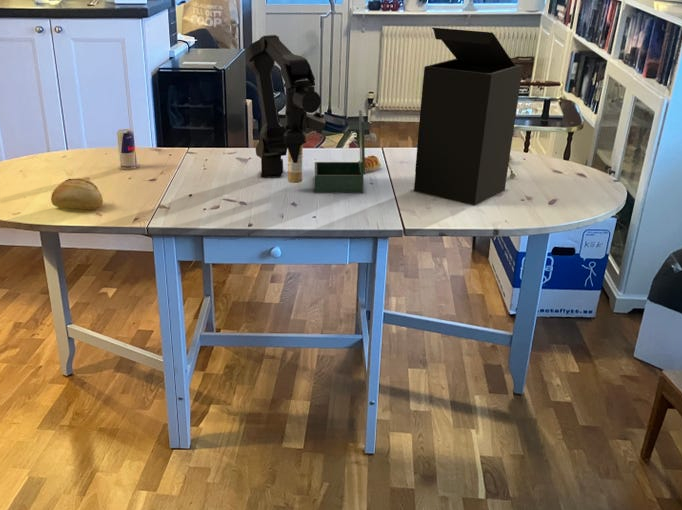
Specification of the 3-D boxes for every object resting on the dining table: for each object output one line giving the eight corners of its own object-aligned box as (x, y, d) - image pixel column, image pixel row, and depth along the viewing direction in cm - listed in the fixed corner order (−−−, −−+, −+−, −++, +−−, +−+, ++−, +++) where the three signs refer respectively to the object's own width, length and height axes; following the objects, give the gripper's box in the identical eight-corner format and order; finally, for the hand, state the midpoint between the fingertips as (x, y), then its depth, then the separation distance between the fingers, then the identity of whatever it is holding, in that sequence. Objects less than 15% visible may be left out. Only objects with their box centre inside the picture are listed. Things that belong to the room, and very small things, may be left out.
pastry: (365, 175, 237) (366, 163, 235) (348, 171, 241) (348, 159, 239) (382, 168, 243) (382, 156, 241) (365, 164, 247) (365, 153, 245)
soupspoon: (512, 161, 250) (491, 161, 251) (513, 151, 248) (492, 151, 249) (522, 178, 231) (501, 178, 232) (524, 167, 229) (502, 168, 230)
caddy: (314, 192, 222) (314, 175, 220) (314, 178, 235) (314, 161, 232) (362, 192, 222) (363, 175, 219) (360, 178, 234) (361, 162, 231)
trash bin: (412, 191, 222) (426, 27, 199) (446, 177, 234) (462, 20, 211) (473, 205, 210) (495, 33, 187) (505, 190, 222) (530, 26, 199)
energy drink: (135, 169, 245) (131, 132, 239) (119, 170, 245) (115, 133, 239) (138, 165, 250) (134, 128, 244) (122, 165, 250) (118, 129, 244)
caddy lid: (361, 121, 211) (377, 120, 211) (358, 110, 223) (374, 109, 223) (362, 174, 219) (377, 173, 218) (359, 160, 231) (374, 159, 231)
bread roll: (59, 201, 218) (54, 174, 214) (108, 202, 217) (105, 175, 213) (47, 212, 210) (42, 184, 206) (99, 213, 209) (95, 185, 205)
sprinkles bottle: (287, 178, 225) (287, 134, 218) (302, 178, 225) (303, 134, 218) (287, 183, 221) (287, 138, 214) (302, 183, 221) (303, 138, 214)
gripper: (324, 113, 203) (323, 169, 211) (323, 99, 219) (322, 152, 227) (283, 113, 204) (283, 169, 212) (285, 99, 220) (286, 152, 228)
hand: (295, 160), depth 220 cm, fingers closed on sprinkles bottle, 4 cm apart
